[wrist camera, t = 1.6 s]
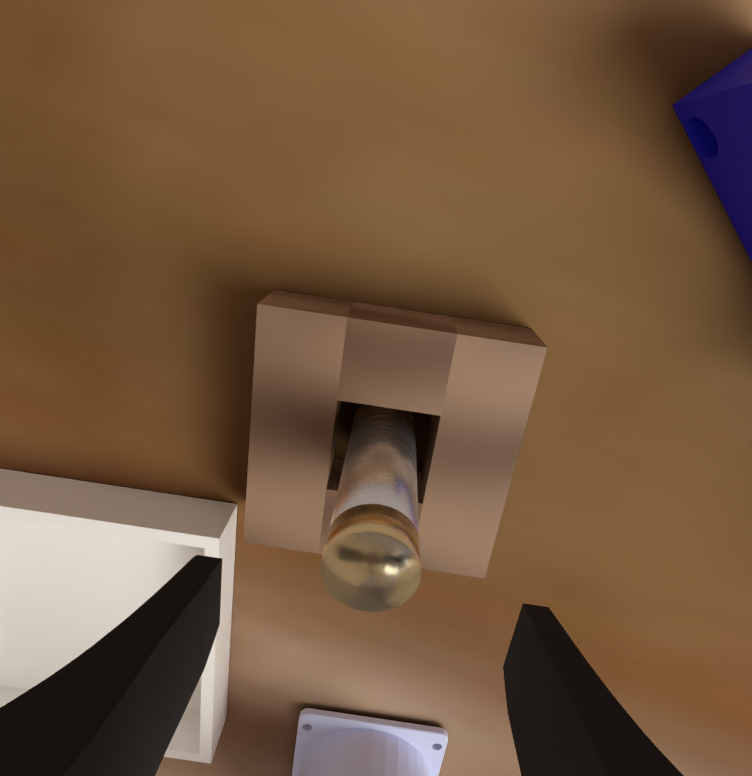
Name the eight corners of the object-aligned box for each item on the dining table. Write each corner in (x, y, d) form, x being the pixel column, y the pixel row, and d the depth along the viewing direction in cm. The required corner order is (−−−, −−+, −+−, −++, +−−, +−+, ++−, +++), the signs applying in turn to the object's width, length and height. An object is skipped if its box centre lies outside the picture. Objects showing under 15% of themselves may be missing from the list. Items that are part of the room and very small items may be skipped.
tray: (226, 717, 29) (211, 763, 27) (-26, 680, 29) (-63, 723, 27) (237, 503, 24) (219, 538, 22) (-69, 458, 24) (-120, 488, 22)
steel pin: (409, 457, 23) (412, 618, 14) (349, 447, 23) (315, 603, 14) (420, 401, 22) (428, 538, 13) (356, 391, 22) (325, 523, 13)
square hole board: (477, 540, 24) (484, 578, 22) (259, 507, 24) (243, 542, 22) (531, 328, 20) (547, 347, 18) (274, 289, 20) (257, 303, 18)
